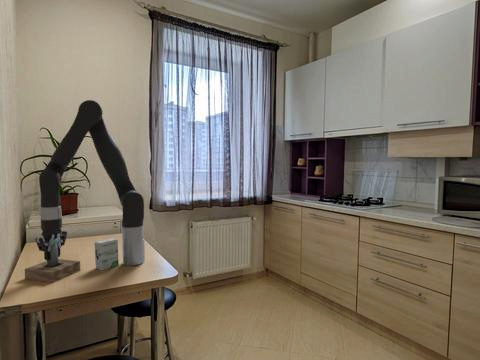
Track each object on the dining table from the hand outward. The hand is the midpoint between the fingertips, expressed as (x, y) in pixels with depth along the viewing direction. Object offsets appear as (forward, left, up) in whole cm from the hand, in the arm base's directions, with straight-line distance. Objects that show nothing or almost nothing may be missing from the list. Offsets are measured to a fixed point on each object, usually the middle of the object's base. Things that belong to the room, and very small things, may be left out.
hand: (52, 258), depth 131 cm
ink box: (-14, +15, -7) cm, 22 cm away
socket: (0, 0, -7) cm, 7 cm away
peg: (0, 0, -4) cm, 4 cm away
